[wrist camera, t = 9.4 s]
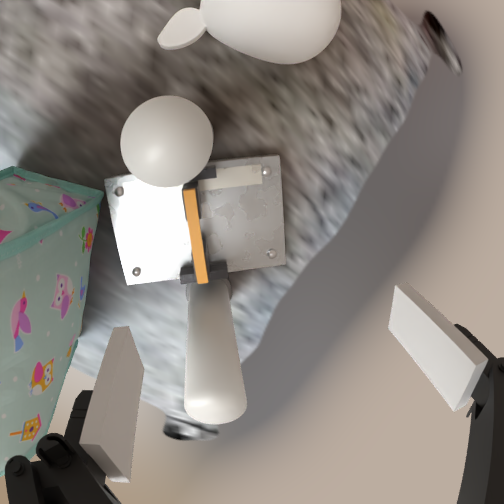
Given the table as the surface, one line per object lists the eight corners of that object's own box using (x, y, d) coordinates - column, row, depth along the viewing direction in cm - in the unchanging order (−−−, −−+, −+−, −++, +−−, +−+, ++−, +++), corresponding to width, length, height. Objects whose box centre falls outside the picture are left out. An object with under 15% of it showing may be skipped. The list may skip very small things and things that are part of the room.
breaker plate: (130, 277, 36) (123, 293, 32) (109, 176, 31) (97, 183, 27) (281, 257, 37) (290, 272, 34) (275, 154, 33) (284, 157, 29)
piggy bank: (322, 21, 29) (196, -9, 27) (362, -40, 17) (198, -80, 15) (305, 106, 29) (160, 72, 27) (354, 51, 18) (142, 2, 15)
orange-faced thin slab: (196, 265, 33) (195, 284, 29) (184, 183, 30) (180, 191, 26) (209, 264, 33) (210, 282, 30) (198, 181, 30) (197, 189, 26)
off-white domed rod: (164, 164, 32) (121, 203, 15) (159, 114, 30) (107, 99, 13) (215, 157, 32) (226, 188, 16) (210, 106, 30) (216, 80, 14)
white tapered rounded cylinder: (190, 311, 39) (187, 429, 22) (182, 272, 36) (171, 385, 20) (233, 306, 39) (255, 422, 23) (228, 266, 37) (249, 376, 20)
